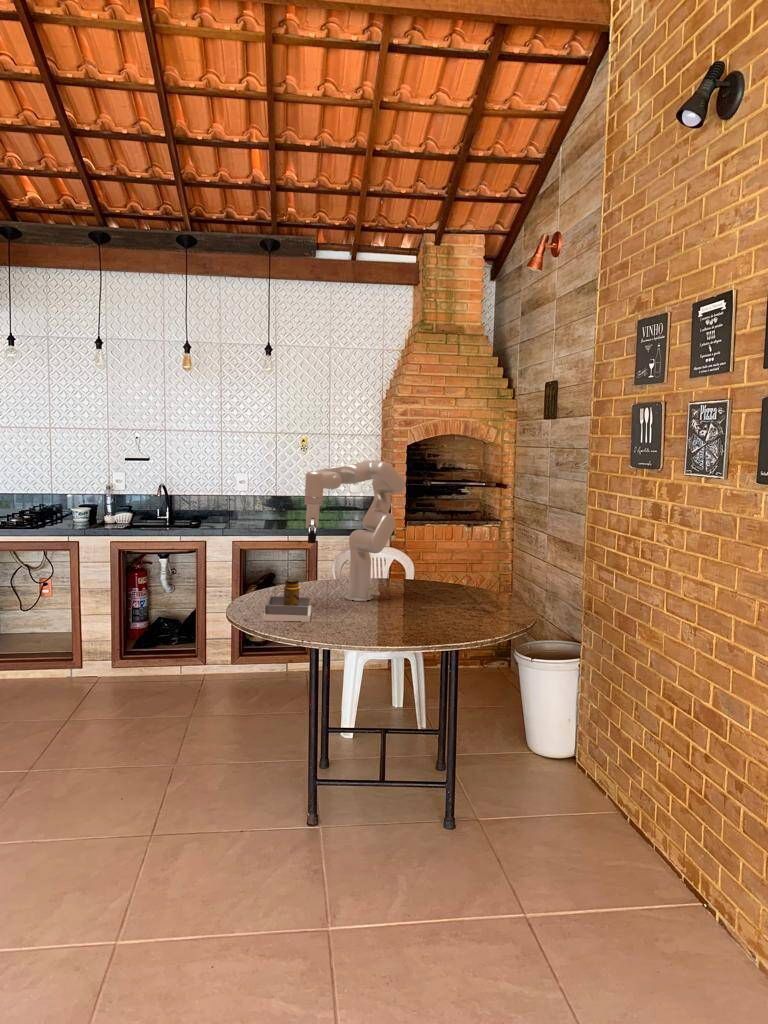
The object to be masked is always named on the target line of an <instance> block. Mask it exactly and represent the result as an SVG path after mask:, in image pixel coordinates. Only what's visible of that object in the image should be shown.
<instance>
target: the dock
mask: <svg viewBox="0 0 768 1024" xmlns="http://www.w3.org/2000/svg"><path fill="white" fill-rule="evenodd" d="M283 604H284V595H283V596H282V595H268V597H267V599H266V603H265V604H264V611H263V612H264V613H263V617H262V621H263V622H284V621H301V622H300V623H310V622H311V617H310V616H311V615H312V605H310V596H309V597H308V596H299V606H286V605H283Z"/></svg>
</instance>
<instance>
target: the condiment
mask: <svg viewBox="0 0 768 1024" xmlns="http://www.w3.org/2000/svg"><path fill="white" fill-rule="evenodd" d="M284 583H285V584H284V588H283V596H284V604H283V605H286V606H299V597H300V586H299V583H300V582H299V580H298V579H294V578H289V579H286V580H285V582H284Z"/></svg>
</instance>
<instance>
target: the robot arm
mask: <svg viewBox="0 0 768 1024" xmlns="http://www.w3.org/2000/svg"><path fill="white" fill-rule="evenodd" d="M370 480H371V481H372V482H371V485H372V490H373V496H374V497H373V500H372V502H371V505H370V507H369V508H368V510H367V512H366V513H365V516H364V517H363V519H362V526H363V528H364V529H355V530H354V531H352V532H351V533H350V535H349V537H348V544H349V555H350V556H349V557H350V558H349V560H350V561H349V576H348V577H349V581H348V593H347V594H345V595H344V598H345V599H346V600H348V601H352V600H354V602H368V601H367V600H370V601H372V600H373V598H374V597H373V596H375V597H376V596H378V597H379V596H380V594H381V592H380V591H377V590H371V571H372V559H371V557H372V556H371V554H370V553H372V554H379V553H381V552H382V551H383V550H384V549H385V547H386V546H387V544H388V541H389V540H390V538H391V536H392V534H393V532H394V531H395V527H396V518H395V516H394V514H392V513H390V512H389V511H390V509H391V506H392V502H391V498H390V494H393V495H394V494H395V495H396V494H400V493H401V494H402V492H403V491H404V489H405V486H406V483H405V479H404V478H403V476H402V475H401V474H400V473H399V472H398V471H397V470H396V469H395V468H394V467H393V466H392V465H391V464H389V463H388V462H387V461H385V460H384V461H382V460H365V461H362V462H356V463H352V464H346V465H338V466H332V467H326V468H321V469H317V470H315V471H312V470H311V471H307V472H306V474H305V485H304V486H305V487H304V488H305V489H304V490H305V491H304V505H306V512H305V514H306V516H305V528H306V529H308V534H307V543H308V544H316V541H317V528H318V526H319V520H320V506H323V502H324V501H323V500H324V489H327V490H335V489H338V488H339V487H340V486H341V485H342V484H344V485H352V484H353V485H355V484H358V483H362V482H366V481H370ZM371 599H372V600H371Z"/></svg>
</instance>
